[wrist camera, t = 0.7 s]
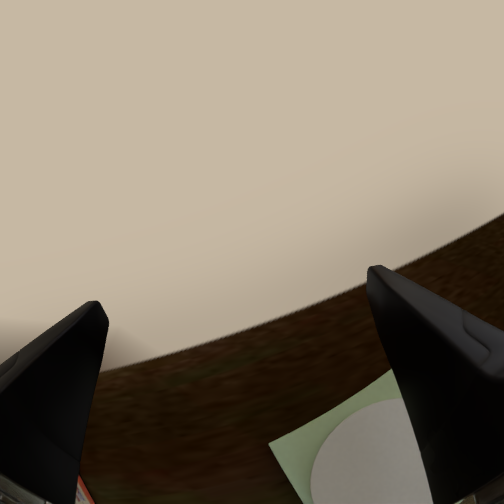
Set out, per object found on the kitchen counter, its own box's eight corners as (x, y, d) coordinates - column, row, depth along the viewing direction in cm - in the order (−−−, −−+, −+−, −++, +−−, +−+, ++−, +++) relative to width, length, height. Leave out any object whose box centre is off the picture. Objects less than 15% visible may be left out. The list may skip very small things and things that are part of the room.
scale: (489, 464, 13) (504, 465, 10) (348, 561, 12) (349, 574, 9) (415, 351, 21) (424, 341, 19) (272, 442, 20) (265, 444, 18)
